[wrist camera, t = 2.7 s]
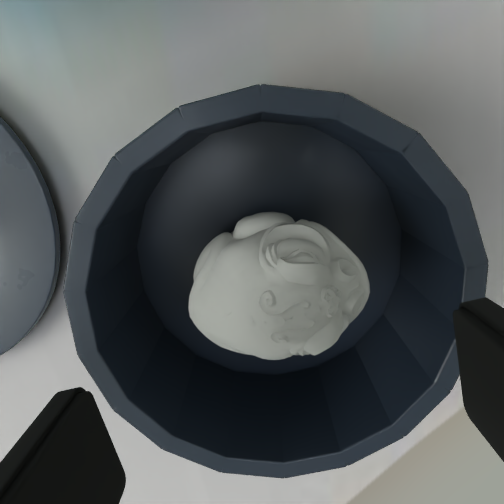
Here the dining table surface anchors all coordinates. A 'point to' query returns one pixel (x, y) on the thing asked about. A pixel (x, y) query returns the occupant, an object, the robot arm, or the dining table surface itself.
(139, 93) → the dining table surface
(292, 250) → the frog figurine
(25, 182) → the lid
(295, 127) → the pot
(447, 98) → the dining table surface
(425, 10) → the dining table surface
